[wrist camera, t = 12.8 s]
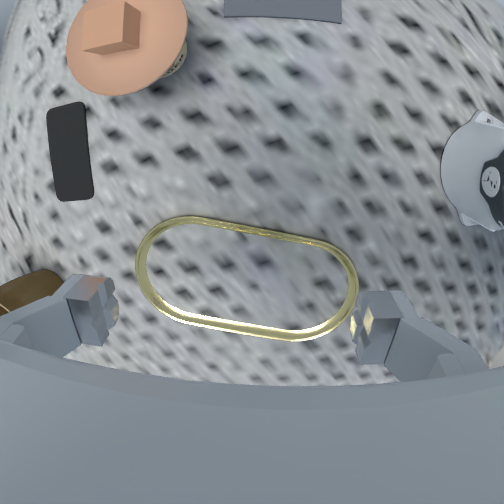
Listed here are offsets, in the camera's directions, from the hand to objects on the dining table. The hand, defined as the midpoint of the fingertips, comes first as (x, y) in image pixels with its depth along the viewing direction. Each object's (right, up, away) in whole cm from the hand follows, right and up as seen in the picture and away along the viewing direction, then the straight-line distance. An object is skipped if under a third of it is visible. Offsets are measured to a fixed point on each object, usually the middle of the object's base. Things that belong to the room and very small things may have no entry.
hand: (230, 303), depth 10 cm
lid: (-12, +23, +13) cm, 29 cm away
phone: (-27, +17, +31) cm, 44 cm away
